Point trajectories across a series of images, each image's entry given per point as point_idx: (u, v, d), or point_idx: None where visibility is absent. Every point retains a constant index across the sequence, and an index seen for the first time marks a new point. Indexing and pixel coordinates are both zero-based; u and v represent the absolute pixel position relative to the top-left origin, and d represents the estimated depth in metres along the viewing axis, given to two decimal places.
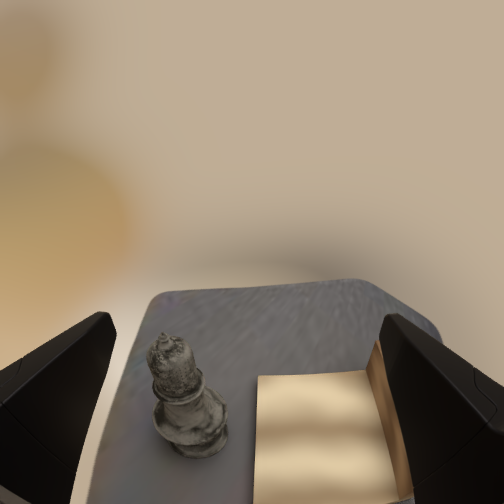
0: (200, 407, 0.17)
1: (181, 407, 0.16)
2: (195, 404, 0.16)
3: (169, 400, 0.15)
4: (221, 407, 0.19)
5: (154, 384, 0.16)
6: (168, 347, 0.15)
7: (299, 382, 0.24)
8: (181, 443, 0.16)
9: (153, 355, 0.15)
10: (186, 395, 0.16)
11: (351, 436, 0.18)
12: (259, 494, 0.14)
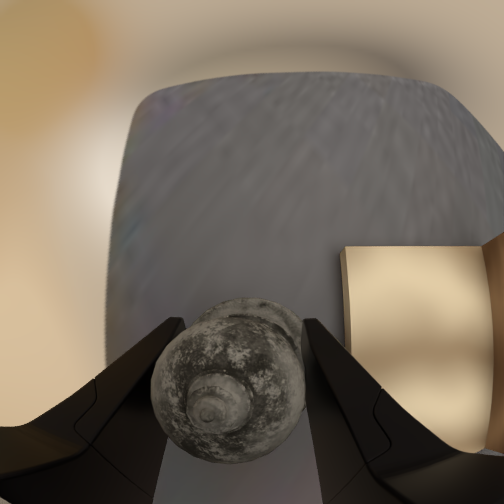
0: None
1: None
2: None
3: None
4: None
5: None
6: (234, 425, 0.04)
7: (407, 261, 0.14)
8: None
9: (182, 436, 0.04)
10: None
11: (464, 362, 0.12)
12: None
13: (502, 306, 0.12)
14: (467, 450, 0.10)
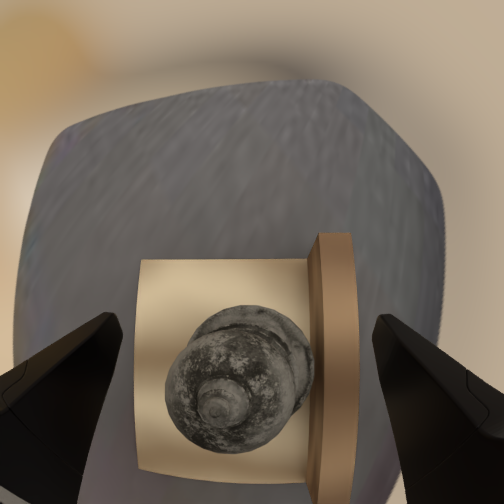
0: None
1: None
2: None
3: None
4: (303, 354, 0.12)
5: None
6: (236, 420, 0.04)
7: (196, 274, 0.17)
8: None
9: (193, 431, 0.05)
10: None
11: None
12: (142, 442, 0.14)
13: (313, 330, 0.14)
14: (275, 477, 0.13)
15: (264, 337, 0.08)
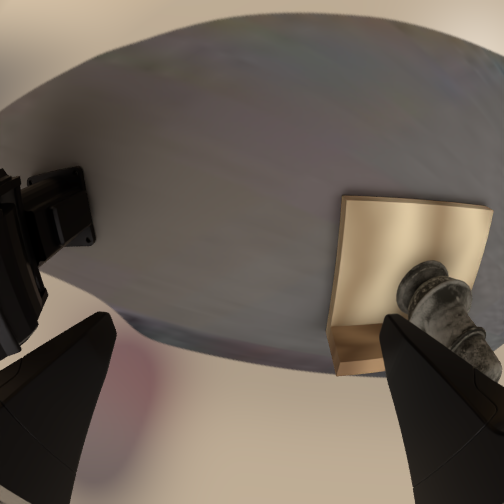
0: None
1: None
2: None
3: None
4: None
5: (471, 332, 0.13)
6: None
7: (477, 251, 0.18)
8: (412, 318, 0.17)
9: None
10: None
11: None
12: (376, 207, 0.17)
13: None
14: (340, 308, 0.21)
15: None
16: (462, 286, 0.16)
